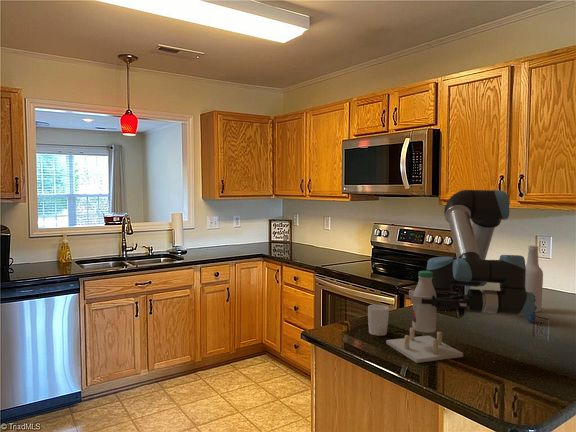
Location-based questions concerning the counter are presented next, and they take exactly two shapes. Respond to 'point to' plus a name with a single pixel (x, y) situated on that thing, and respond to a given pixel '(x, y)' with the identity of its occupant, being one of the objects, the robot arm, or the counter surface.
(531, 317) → the grapes
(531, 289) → the alcohol
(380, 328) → the white cup
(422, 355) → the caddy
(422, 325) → the milk bottle
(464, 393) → the counter surface
